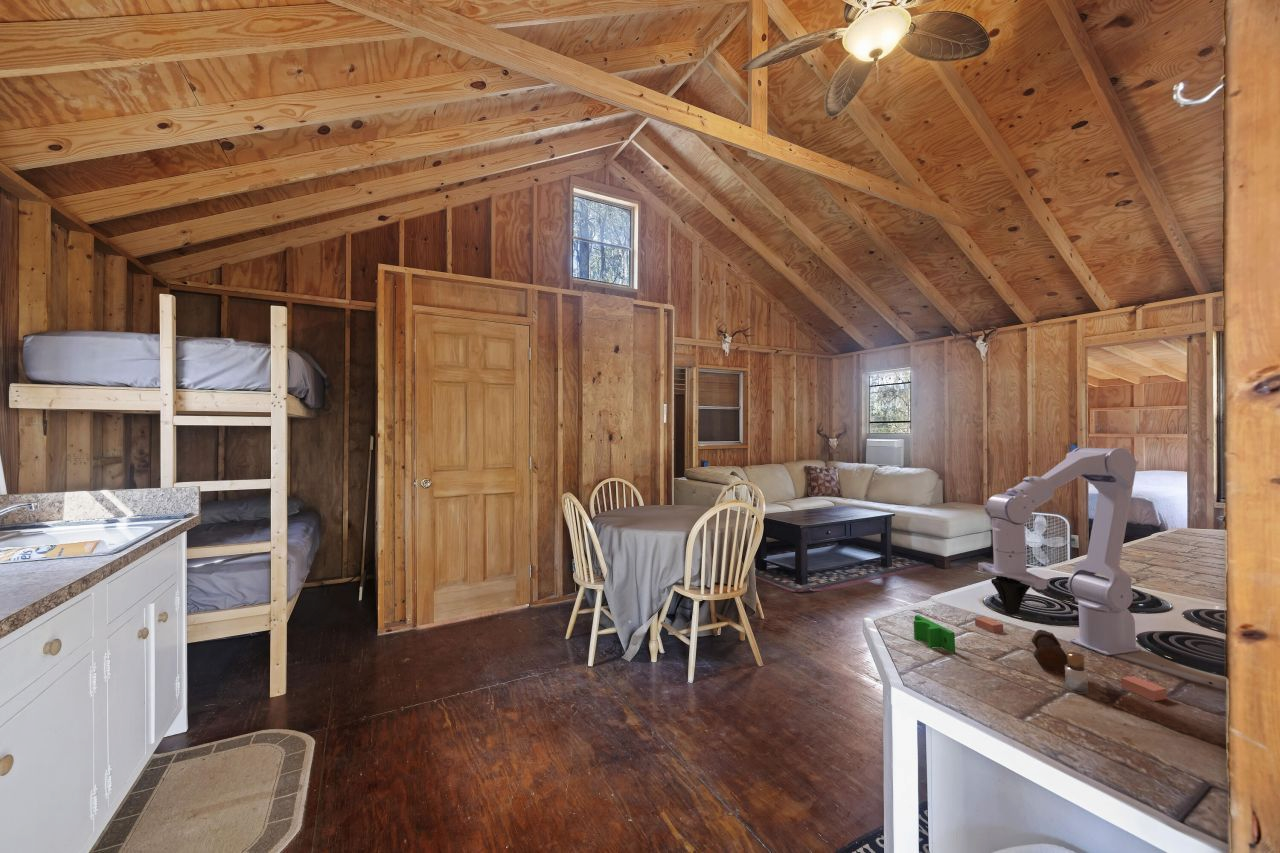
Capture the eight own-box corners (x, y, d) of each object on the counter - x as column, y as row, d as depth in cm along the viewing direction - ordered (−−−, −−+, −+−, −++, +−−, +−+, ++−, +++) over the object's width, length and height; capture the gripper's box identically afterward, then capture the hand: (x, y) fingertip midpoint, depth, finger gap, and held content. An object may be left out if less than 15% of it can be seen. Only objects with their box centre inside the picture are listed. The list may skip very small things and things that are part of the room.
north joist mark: (1134, 685, 95) (1133, 675, 95) (1166, 698, 90) (1166, 688, 90) (1121, 687, 94) (1121, 677, 94) (1153, 701, 89) (1153, 690, 89)
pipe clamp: (905, 635, 121) (904, 616, 121) (919, 634, 122) (918, 614, 122) (940, 654, 110) (939, 633, 110) (955, 653, 111) (954, 631, 111)
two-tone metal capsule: (1074, 684, 96) (1073, 650, 96) (1093, 692, 93) (1091, 657, 93) (1061, 686, 95) (1059, 652, 95) (1079, 695, 92) (1077, 659, 92)
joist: (985, 624, 126) (984, 616, 126) (1003, 631, 121) (1003, 624, 121) (975, 625, 125) (974, 618, 125) (993, 633, 121) (992, 625, 121)
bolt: (1048, 654, 113) (1057, 679, 101) (1023, 638, 116) (1029, 661, 103) (1064, 633, 112) (1075, 657, 99) (1038, 618, 114) (1046, 639, 102)
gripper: (965, 544, 116) (968, 604, 115) (1025, 559, 101) (1028, 627, 101) (991, 542, 117) (994, 601, 117) (1054, 556, 103) (1057, 623, 103)
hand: (1011, 613), depth 109 cm, fingers closed
